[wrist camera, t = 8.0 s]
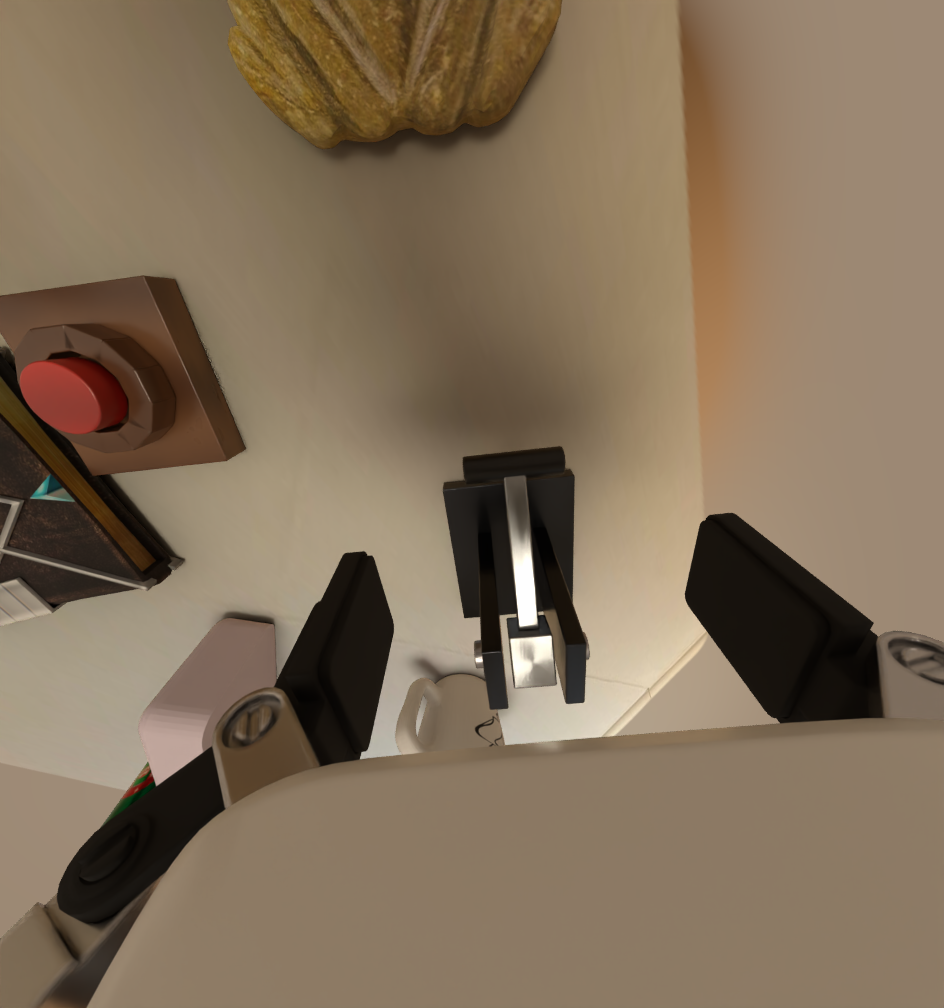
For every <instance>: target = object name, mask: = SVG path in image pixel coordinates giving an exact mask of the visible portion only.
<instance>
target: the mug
mask: <svg viewBox="0 0 944 1008" xmlns="http://www.w3.org/2000/svg"><path fill="white" fill-rule="evenodd" d="M422 696H424V697H425V698H426V700H427V701H428V702H427V705H426V709H425V712H424V716H423V719H422V722H421V726H420V729H419V733H418V737H417V734H416V719H417V715H418V711H419V707H420V704H421V700H422ZM395 738H396V743H397V747H398V749H399V751H400V752H401V754H402V755H405V754H414V753H424V752H433V751H445V750H456V749H468V748H480V747H491V746H503V745H505V742H504V737H503V733H502V728H501V724H500V720H499V716H498V712H497V709H496V710H490V708H489V701H488V694H487V688H486V682H485V681H483V680H482V679H480V678H478V677H476V676H472V675H467V674H456V675H451V676H447V677H445V678H443V679H441V680H440V681H438V682H437V683H436V684H435V683H433V682H432V681H431V680H429V679H427V678H421V679H418V680H416V681H415V682H413V683H412V685H411V686H410V688H409V690H408V693H407V696H406V700H405V702H404V705H403V707H402V710H401V712H400V715H399V718H398V721H397V726H396V733H395Z"/></svg>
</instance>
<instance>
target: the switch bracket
mask: <svg viewBox="0 0 944 1008" xmlns="http://www.w3.org/2000/svg"><path fill="white" fill-rule="evenodd" d="M574 480H575V476H574V474H573V473H572V471H571V470H570V469H569V470H565V472H564V474H563V475H555V476H546V477H536V478H527V479H526V484H527V496H528V507H529V518H530V529H531V540H532V551H533V562H534V573H535V584H536V595H537V606H538V612H541V611H543V612H544V615H545V617H546V619H547V622H548V625H549V627H550V630H551V633H552V635H553V646H554V658H555V662H556V666H557V670H558V674H559V678H560V682H561V686H562V690H563V695H564V699H565V702H566V704H573V703H583V702H584V700H585V677H586V660H588V659H589V657H590V651H589V644H588V640H587V637H586V634H585V633H584V632H583V631H582V629H581V626H580V623H579V620H578V617H577V614H576V611H575V609H574V606H573V542H574ZM443 495H444V501H445V507H446V512H447V518H448V524H449V530H450V536H451V542H452V548H453V554H454V560H455V566H456V572H457V578H458V584H459V590H460V596H461V602H462V608H463V614H464V618H473V617H480V626H481V640H480V641H475V642H474V655H475V664H476V668H484V674H485V681H486V688H487V694H488V701H489V708H490V710H496V709H507V708H508V698H507V687H506V677H505V667H504V656H503V646H502V635H501V625H500V615H507V614H516V606H515V595H514V585H513V575H512V565H511V555H510V544H509V534H508V524H507V514H506V504H505V494H504V483H503V481H499V482H489V483H480V484H470V485H466V483H465V481H456V482H447V483H444V485H443Z"/></svg>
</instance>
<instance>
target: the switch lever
mask: <svg viewBox="0 0 944 1008" xmlns="http://www.w3.org/2000/svg"><path fill="white" fill-rule="evenodd" d="M463 472H464V479H465V483H466V485H470V484H480V483H489V482H499V481H503V483H504V494H505V504H506V514H507V524H508V534H509V544H510V555H511V565H512V575H513V585H514V595H515V606H516V616H517V617H515V618H507V628H508V638H509V648H510V658H511V667H512V675H513V683H514V688H529V687H542V686H555V685H556V684H557V681H556V670H555V658H554V646H553V635H552V633H551V630H550V627H549V625H548V622H547V619H546V617H545V615H538V606H537V595H536V584H535V573H534V562H533V551H532V540H531V529H530V518H529V507H528V496H527V484H526V479H527V478H536V477H546V476H555V475H563V474H564V472H565V455H564V451H563V448H562V447H561V446H557V447H548V448H539V449H530V450H521V451H511V452H502V453H493V454H484V455H475V456H466V457H463Z"/></svg>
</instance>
